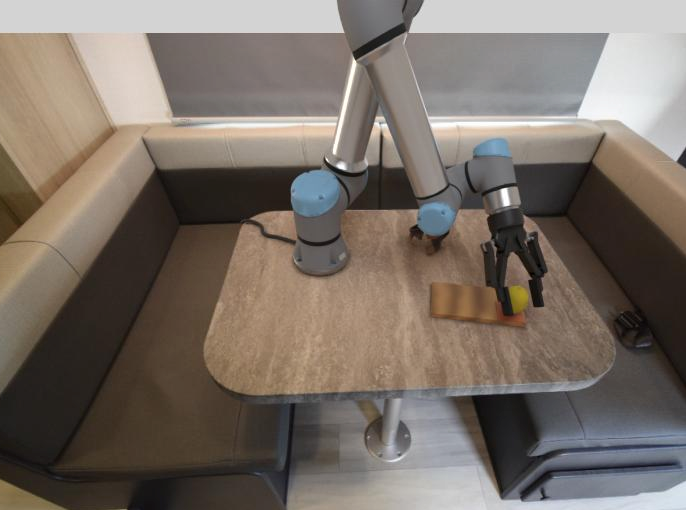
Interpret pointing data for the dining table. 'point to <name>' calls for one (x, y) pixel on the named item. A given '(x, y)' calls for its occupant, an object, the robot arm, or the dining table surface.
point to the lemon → (518, 298)
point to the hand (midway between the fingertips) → (523, 311)
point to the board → (470, 305)
